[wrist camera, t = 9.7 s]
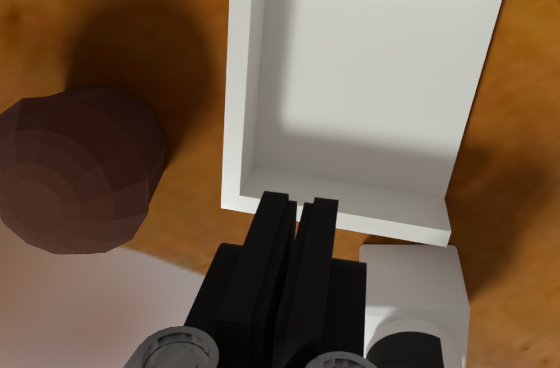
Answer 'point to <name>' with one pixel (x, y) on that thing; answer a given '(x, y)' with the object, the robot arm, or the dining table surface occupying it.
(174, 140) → the dining table surface
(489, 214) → the dining table surface
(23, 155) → the muffin
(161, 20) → the dining table surface
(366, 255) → the medicine bottle
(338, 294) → the robot arm
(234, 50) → the case
